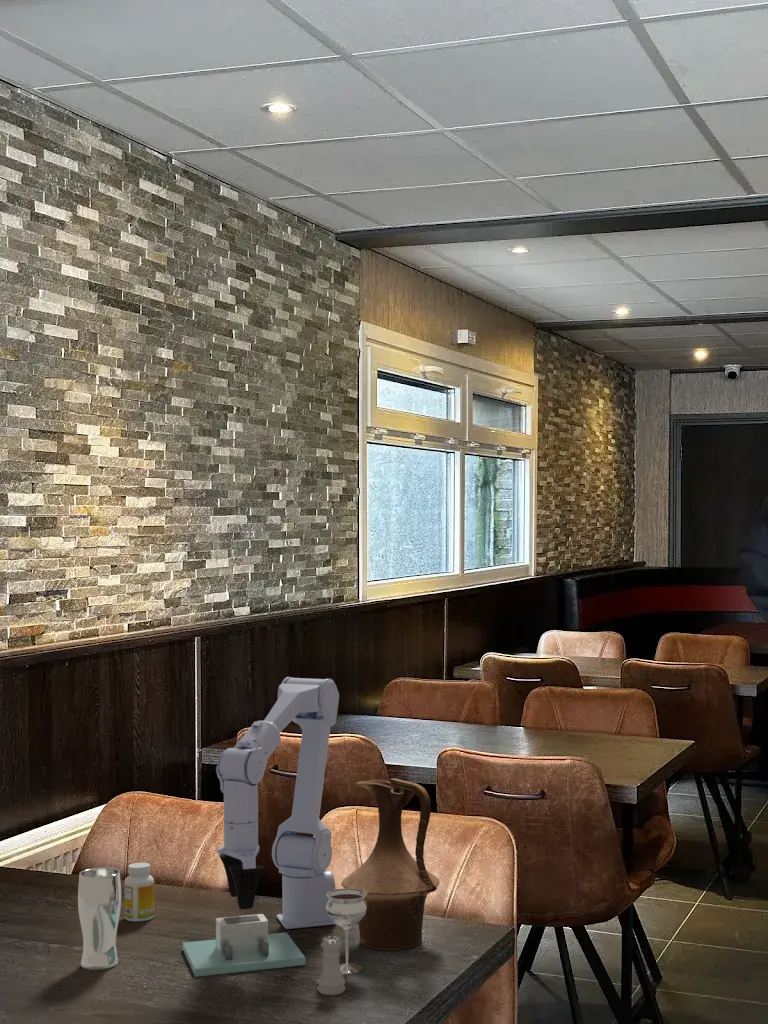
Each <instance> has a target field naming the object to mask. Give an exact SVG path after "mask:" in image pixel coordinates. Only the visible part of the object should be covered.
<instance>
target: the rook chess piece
mask: <svg viewBox="0 0 768 1024" xmlns="http://www.w3.org/2000/svg"><path fill="white" fill-rule="evenodd" d="M342 946H343V945H342V943H341V942H340V937H338V936H333V937H331V936H330V935H328V936H327V937H323V938H322V942H321V944H320V947H321V949H322V950H323V953H322V954H321V955H322V958H323V961H322V962H323V963H322V970H321V973H320V975H319V978H318V980H317V985H318V986H317V987H316V989H317V992H318V993H319V994H320V995H324V996H330V997H331V996H338V995H341V994H343V993H344V992H345V990H346V986H345V984H346V979H345V977H344V976H343V975H344V974H342V973H341V970H340V957H341V953H340V949H341V947H342Z"/></svg>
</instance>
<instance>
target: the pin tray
mask: <svg viewBox="0 0 768 1024" xmlns="http://www.w3.org/2000/svg"><path fill="white" fill-rule="evenodd" d="M182 951H184V952H183V954H184V956H185V958H186V961H187V962H188V964H189V966H190V969H191V971H192V973H193V975H194V977H195V978H196V977H198V978H199V977H206V976H214V975H215V976H216V975H224V974H234V973H241V972H251V971H253V972H254V971H261V970H269V969H279V968H288V967H297V966H305V965H306V956H305V955H304V953H303V952H302V951H301V949H300V948H299V947H298V946H297V945H296V943H295V941H294V940H293V939H292V938H291V936H290V935H289V934H288V933H287V932H277V933H268V942H262V943H261V952H259V953H249V954H240V955H233V946H231V945H228V946H225V956H221V957H220V955H219V953H218V951H217V949H216V938H215V939H207V940H196V941H186V942H185V941H184V942H182Z"/></svg>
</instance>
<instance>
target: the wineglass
mask: <svg viewBox="0 0 768 1024" xmlns="http://www.w3.org/2000/svg"><path fill="white" fill-rule="evenodd" d="M326 895H327V897H328V899H329V900H328V901H327V905H326V912H327V914H328V917H329V918H330V919H331V920H332V921H333V922H334V923H335V924H334V925H337V926H340V927H341V928H342V930H344V943H345V944H344V946H345V963H341V964H340V963H339V964H340V970H341V973H342V974H343V975H352V974H357V973H359V972H361V971H362V970H363V967H362V966H361V965H359V964H355V963H350V962H349V955H350V954H349V952H350V951H349V950H350V930H351V929H352V928H353V927H355V926H357V925H359V922H360V921H361V920H362V919H363V918H364V917H365V916H366V913H367V907H368V905H367V901H366V900H365V898H366V896H367V892H365V891H363V890H359V889H351V888H348V889H345V888H337V889H336V888H335V890H332V891H329V892H328V893H327V894H326Z"/></svg>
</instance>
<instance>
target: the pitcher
mask: <svg viewBox="0 0 768 1024" xmlns="http://www.w3.org/2000/svg"><path fill="white" fill-rule="evenodd" d="M355 786H357V787H361V788H363V789H366V790H367V791H368V792H370V793H371V795H372V796H373V797H374V799H375V802H376V805H377V810H378V820H379V821H378V824H379V825H378V833H377V838H376V842H375V845H374V847H373V850H372V852H370V855H369V856H368V858H367V859H366V860H365V861H364V862H363V863H362V864H361V865H360V866H359V867H358V868H357V869H355V870H354V871H352V873H350V874H349V875H347V876H345V878H343V879H342V880H341V883H340V884H341V886H342V887H343V889H348V888H351V889H359V890H363V891H365V892H367V896H366V898H365V900H366V901H367V905H368V907H367V913H366V916H365V917H364V918H363V919H362V920H361V921H360V922H359V923H358V929H359V942H360V944H361V945H362V946H364V947H366V948H369V949H374V950H382V951H396V950H403V949H408V948H412V947H416V946H418V945H420V944H421V943H422V942H423V941H422V940H423V923H424V914H425V913H424V912H425V904H426V899H427V897H428V895H429V894H430V893H434V892H435V891H436V890H438V887H439V885H440V879H439V877H437V876H436V875H435V874H432V873H431V872H430V871H428V870H427V869H426V863H425V860H424V859H425V858H424V852H425V851H424V850H425V849H424V848H425V847H424V846H425V841H426V838H427V831H428V828H429V827H428V826H429V823H430V819H431V811H432V805H431V804H432V803H431V798H430V796H429V793H428V792H427V790H426V788H425V787H423V786H422V785H420V784H418V783H416V782H412V781H411V782H410V781H406V780H402V779H400V778H396V777H395V778H390V781H387V780H384V779H369V780H362V781H361V780H360V781H357V782H356V783H355ZM415 795H416V796H417V797H418V800H419V803H420V813H419V823H418V825H417V834H416V838H415V839H416V840H415V842H416V844H415V858H414V857H413V856H412V855H411V853H410V852H409V850H408V848H407V846H406V844H405V843H406V842H405V841H404V837H403V833H402V830H403V829H402V814H403V808H404V807H405V806H407V805H408V804H409V803H410V801H411V799H412V798H413V797H414V796H415Z"/></svg>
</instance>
